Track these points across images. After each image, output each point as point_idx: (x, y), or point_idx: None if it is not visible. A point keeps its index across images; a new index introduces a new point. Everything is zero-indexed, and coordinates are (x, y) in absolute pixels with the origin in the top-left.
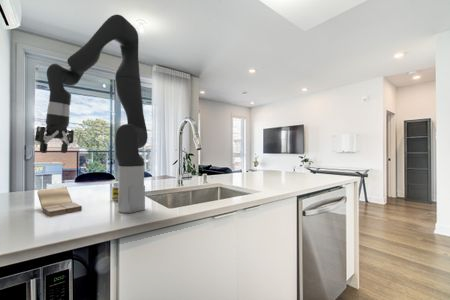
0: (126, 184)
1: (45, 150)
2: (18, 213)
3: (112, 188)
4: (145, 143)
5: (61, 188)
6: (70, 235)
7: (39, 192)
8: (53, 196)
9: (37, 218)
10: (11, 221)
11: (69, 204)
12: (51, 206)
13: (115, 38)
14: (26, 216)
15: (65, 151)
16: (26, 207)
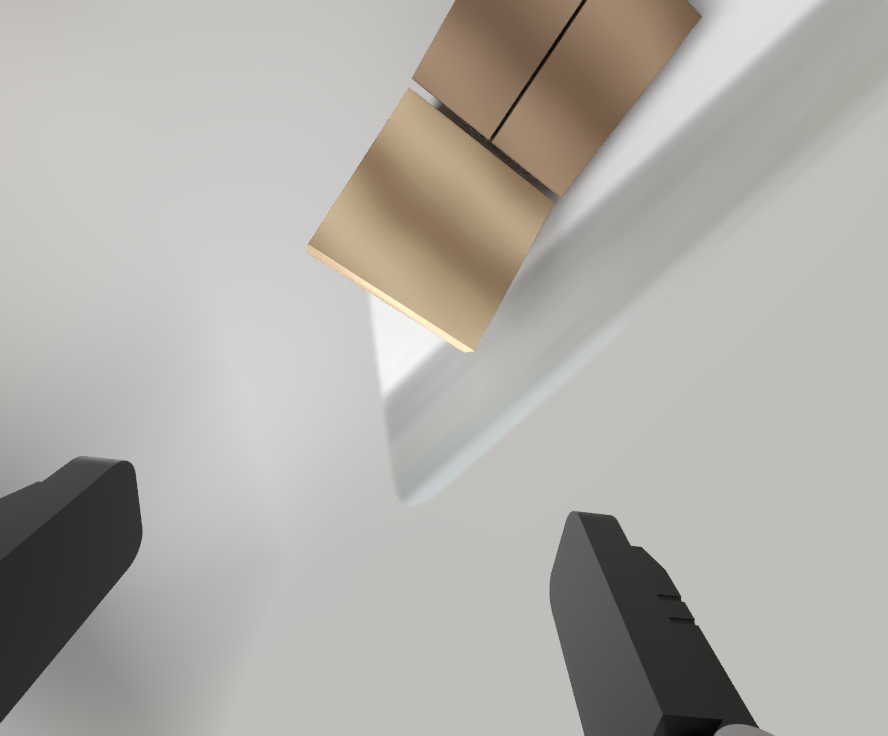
0: None
1: (625, 542)
2: (585, 301)
3: None
4: None
5: (350, 257)
6: None
7: (482, 324)
8: (451, 229)
9: (719, 75)
10: (748, 190)
11: (485, 43)
12: (543, 148)
13: None
14: (657, 196)
15: (93, 472)
16: (462, 371)
